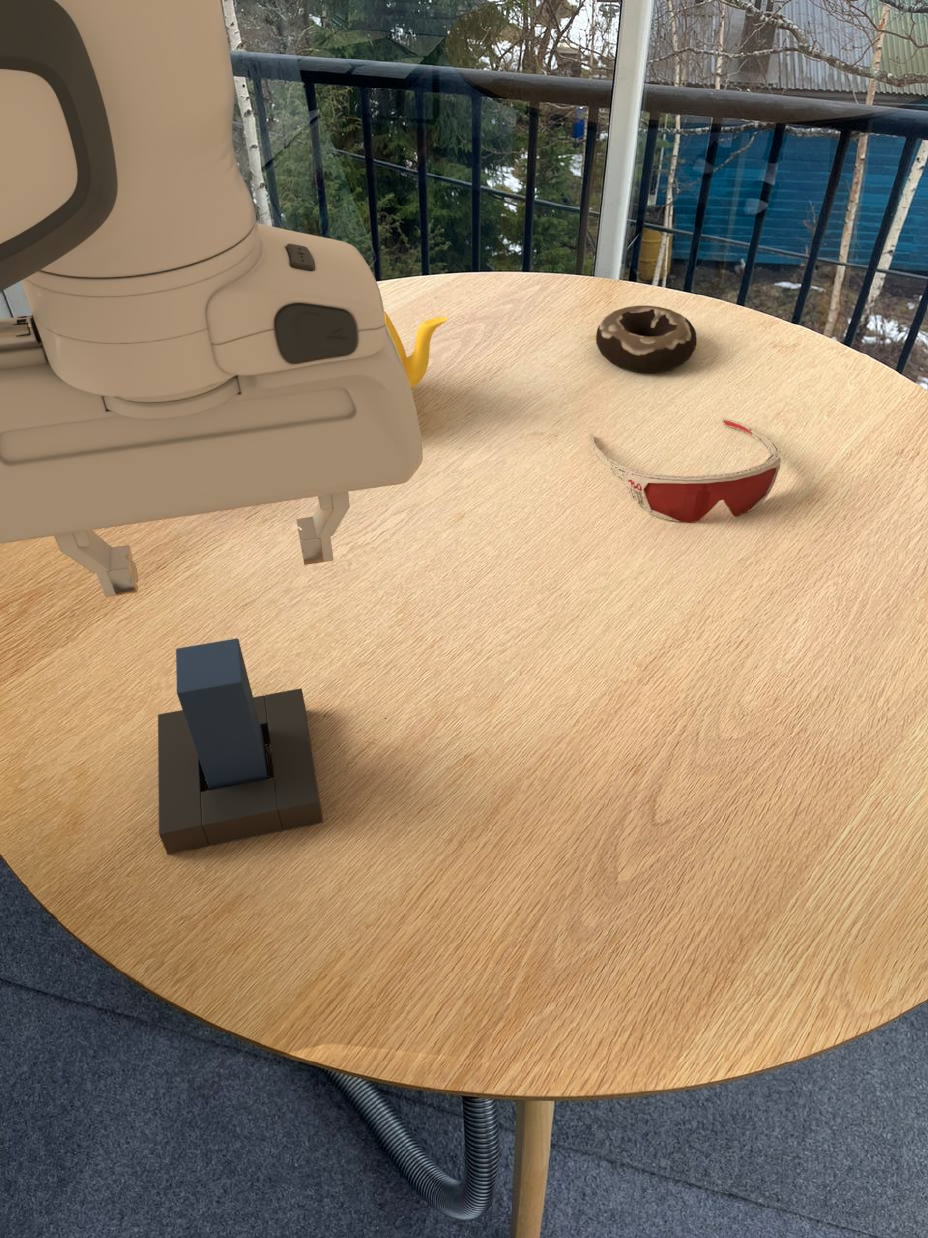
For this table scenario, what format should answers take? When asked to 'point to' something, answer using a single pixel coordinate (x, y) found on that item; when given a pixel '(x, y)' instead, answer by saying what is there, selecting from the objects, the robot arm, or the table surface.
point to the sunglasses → (699, 485)
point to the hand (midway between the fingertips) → (221, 571)
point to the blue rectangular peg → (221, 713)
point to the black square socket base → (244, 807)
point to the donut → (646, 338)
